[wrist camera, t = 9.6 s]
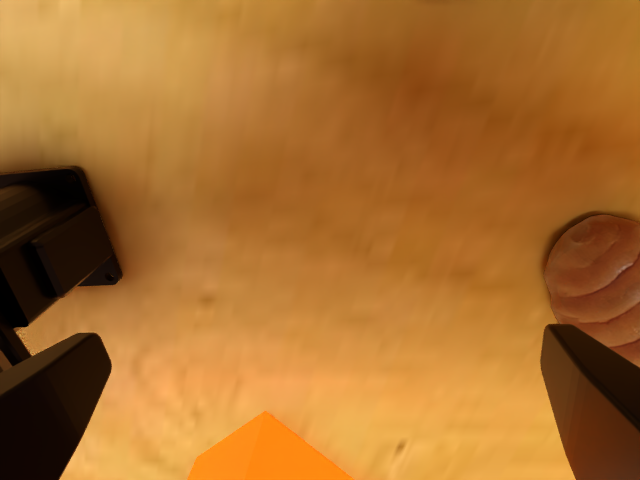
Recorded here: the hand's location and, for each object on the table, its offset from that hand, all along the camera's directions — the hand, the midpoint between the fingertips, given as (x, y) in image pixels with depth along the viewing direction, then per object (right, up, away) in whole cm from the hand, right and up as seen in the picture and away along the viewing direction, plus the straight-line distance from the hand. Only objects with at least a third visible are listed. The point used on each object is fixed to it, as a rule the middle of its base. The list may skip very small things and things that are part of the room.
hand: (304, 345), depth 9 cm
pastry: (+15, -1, +12) cm, 19 cm away
